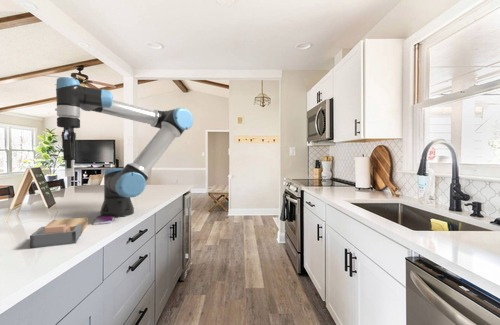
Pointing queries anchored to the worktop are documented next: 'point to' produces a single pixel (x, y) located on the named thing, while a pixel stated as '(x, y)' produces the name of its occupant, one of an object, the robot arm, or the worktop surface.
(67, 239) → the tray
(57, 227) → the tile
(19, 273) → the worktop surface
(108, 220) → the smartphone
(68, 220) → the board
